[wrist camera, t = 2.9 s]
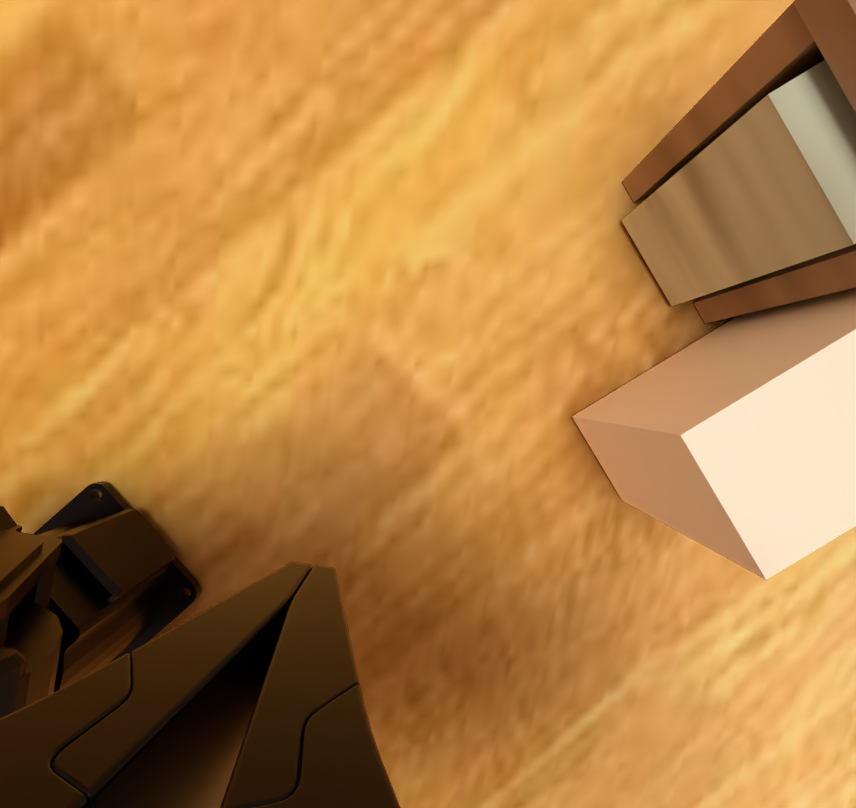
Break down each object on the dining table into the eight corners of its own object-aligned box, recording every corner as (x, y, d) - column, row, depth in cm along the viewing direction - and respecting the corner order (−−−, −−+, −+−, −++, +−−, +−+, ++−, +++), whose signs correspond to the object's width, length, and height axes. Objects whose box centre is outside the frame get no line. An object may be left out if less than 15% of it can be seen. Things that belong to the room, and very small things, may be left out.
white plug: (622, 500, 21) (766, 580, 12) (571, 416, 21) (680, 434, 12) (864, 354, 21) (1184, 327, 12) (814, 269, 21) (1101, 180, 12)
